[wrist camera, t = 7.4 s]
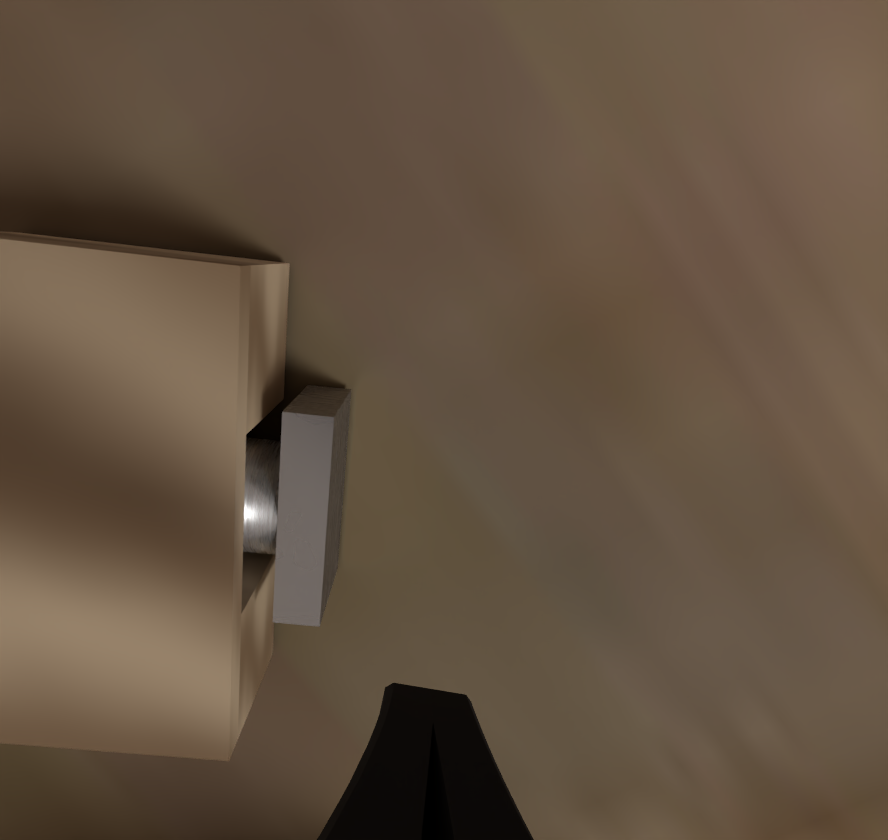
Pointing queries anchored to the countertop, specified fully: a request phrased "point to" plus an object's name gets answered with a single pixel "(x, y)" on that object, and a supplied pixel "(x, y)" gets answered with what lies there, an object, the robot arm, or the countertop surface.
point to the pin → (299, 501)
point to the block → (132, 493)
